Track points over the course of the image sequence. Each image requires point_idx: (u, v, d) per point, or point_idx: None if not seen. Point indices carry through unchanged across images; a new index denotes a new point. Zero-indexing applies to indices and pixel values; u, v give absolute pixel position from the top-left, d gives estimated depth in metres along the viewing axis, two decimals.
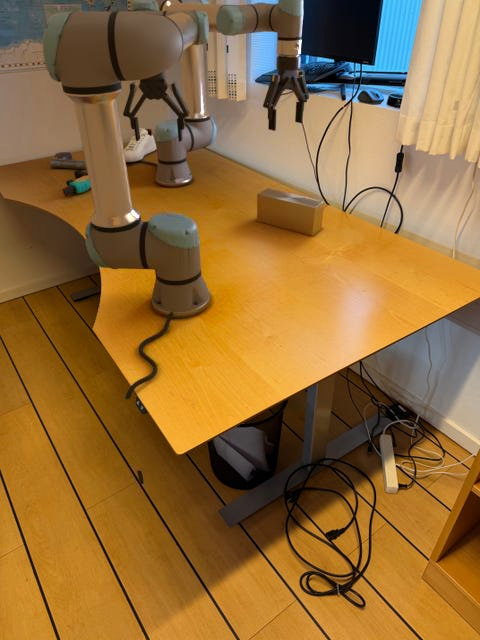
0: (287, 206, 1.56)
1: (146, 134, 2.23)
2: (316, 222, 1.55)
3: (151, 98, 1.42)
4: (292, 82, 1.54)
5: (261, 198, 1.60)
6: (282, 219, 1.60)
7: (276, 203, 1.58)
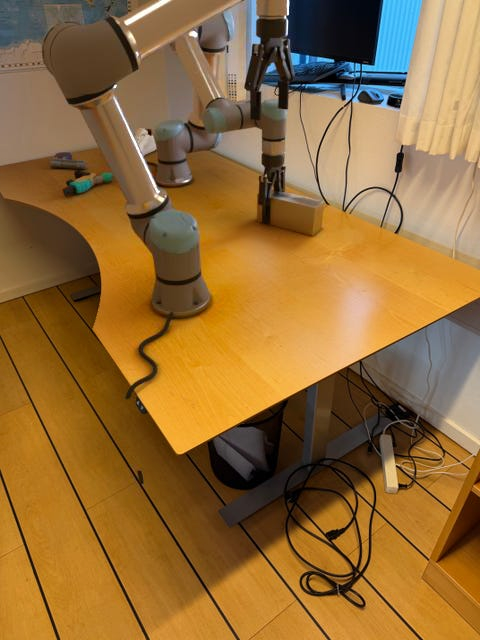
0: (287, 206, 1.56)
1: (146, 134, 2.23)
2: (316, 222, 1.55)
3: (273, 61, 1.15)
4: None
5: None
6: (282, 219, 1.60)
7: (276, 203, 1.58)
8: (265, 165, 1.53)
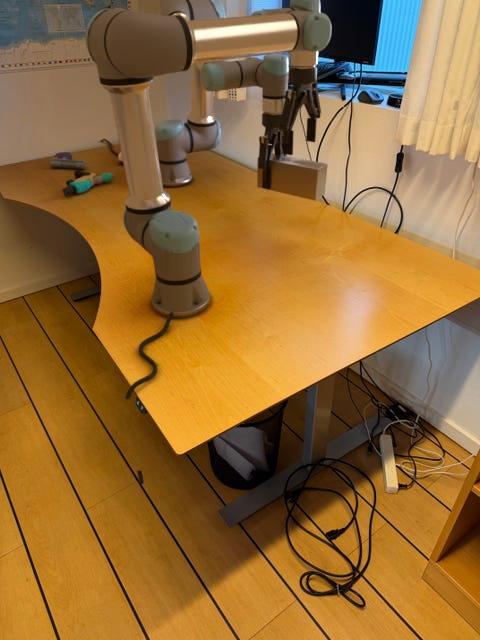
0: (289, 169, 1.49)
1: None
2: (319, 186, 1.48)
3: (303, 103, 1.30)
4: None
5: None
6: (283, 184, 1.53)
7: (277, 166, 1.51)
8: (266, 125, 1.46)
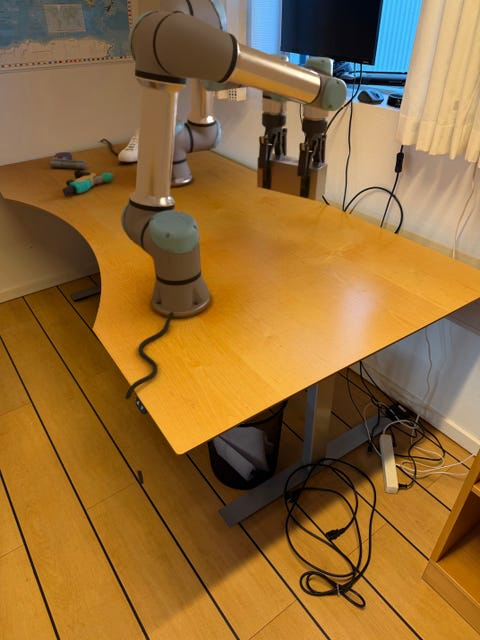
0: (289, 169, 1.49)
1: None
2: (319, 186, 1.48)
3: None
4: None
5: None
6: (283, 184, 1.53)
7: (277, 166, 1.51)
8: (266, 125, 1.46)
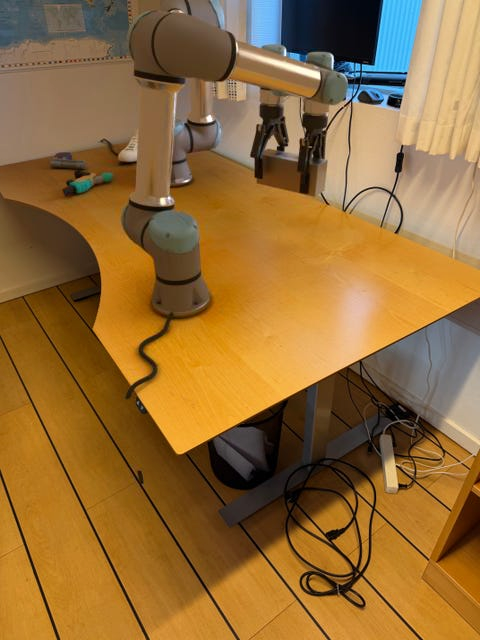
0: (288, 165, 1.48)
1: None
2: (319, 182, 1.47)
3: None
4: None
5: None
6: (283, 180, 1.52)
7: (277, 162, 1.50)
8: (263, 117, 1.45)
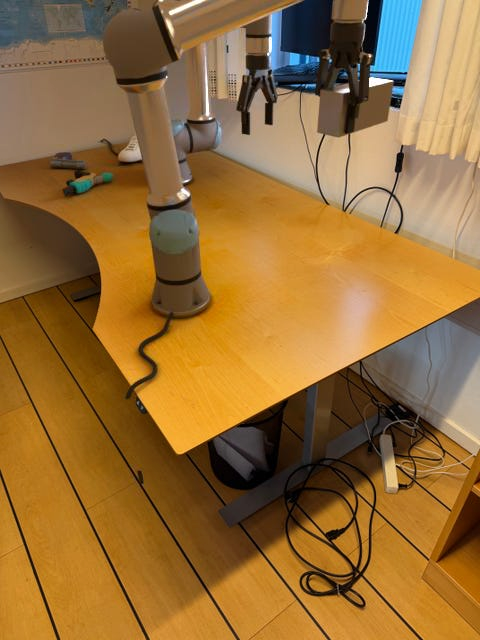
0: None
1: None
2: (324, 117, 1.15)
3: (338, 66, 1.10)
4: None
5: None
6: None
7: None
8: (249, 67, 1.39)
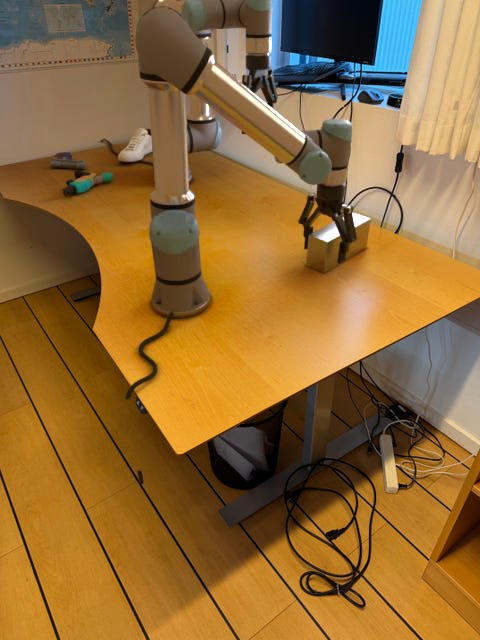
0: None
1: (146, 134, 2.23)
2: (312, 255, 1.37)
3: (323, 213, 1.32)
4: None
5: None
6: None
7: None
8: (249, 67, 1.39)
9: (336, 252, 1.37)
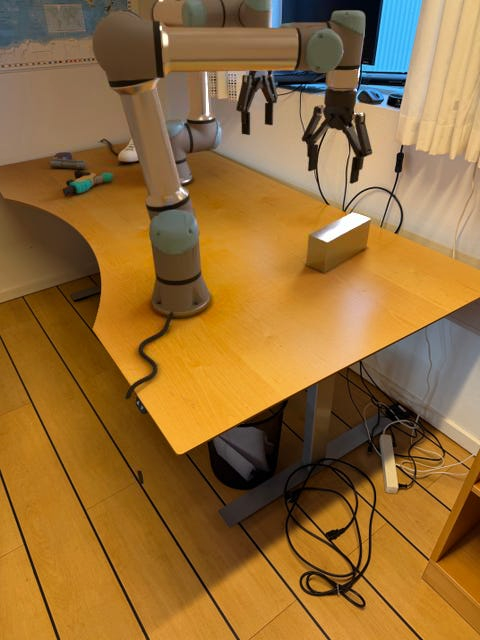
0: None
1: None
2: (312, 255, 1.37)
3: (332, 127, 1.18)
4: None
5: None
6: None
7: None
8: None
9: (336, 252, 1.37)
